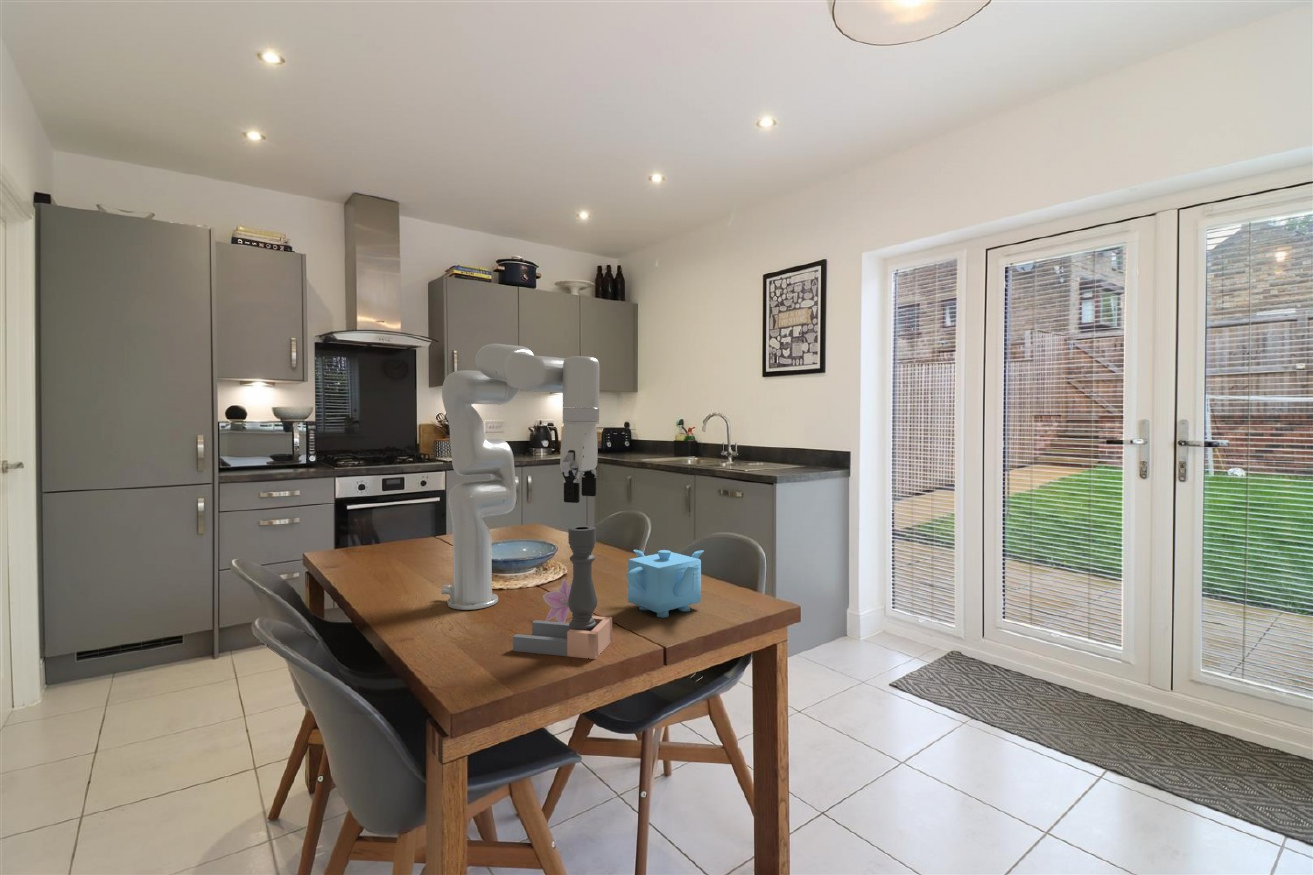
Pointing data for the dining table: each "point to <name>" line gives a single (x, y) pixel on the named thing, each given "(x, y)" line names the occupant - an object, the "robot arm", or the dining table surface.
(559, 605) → the lily
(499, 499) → the robot arm
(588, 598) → the candle holder
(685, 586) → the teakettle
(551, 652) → the guide channel
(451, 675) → the dining table surface
